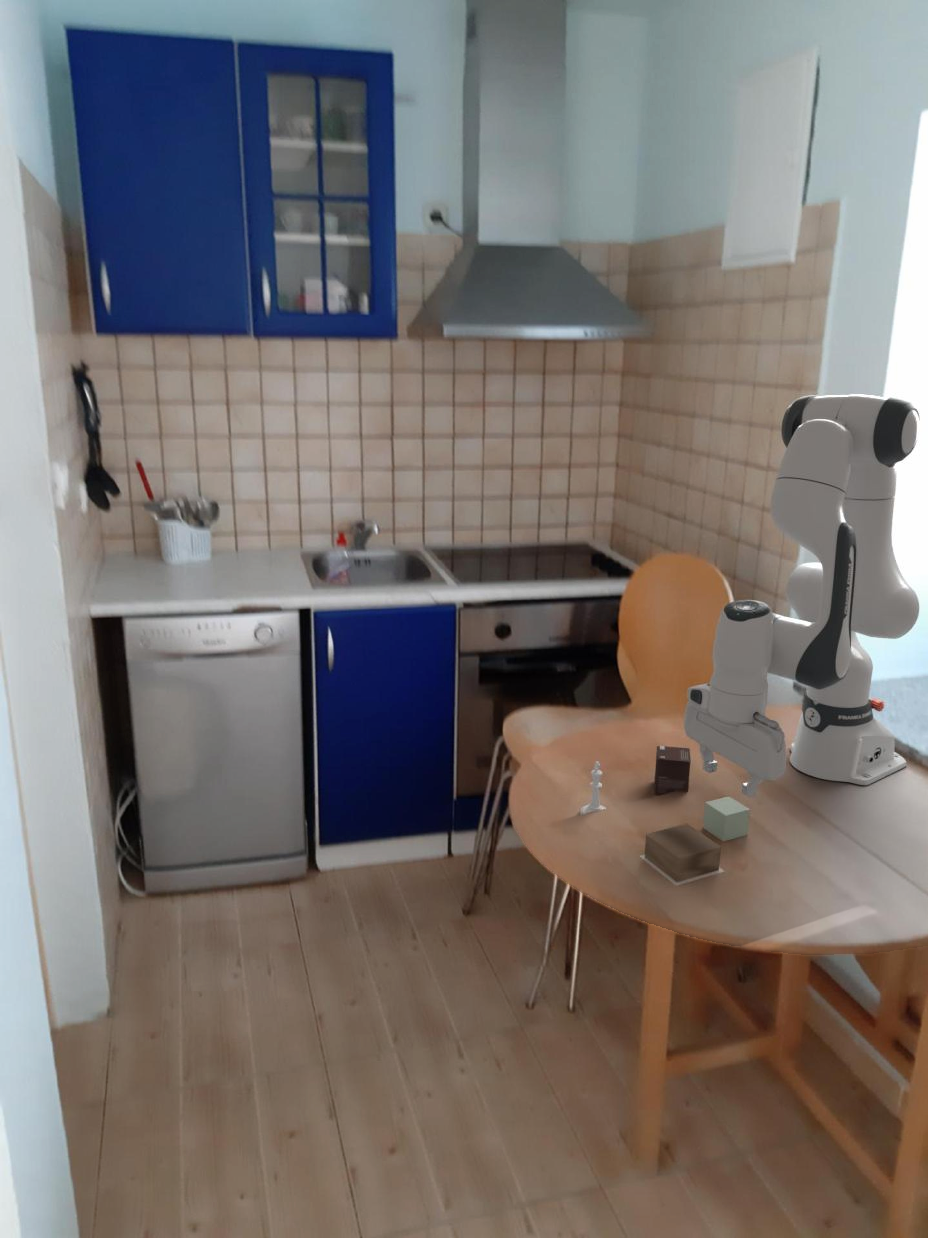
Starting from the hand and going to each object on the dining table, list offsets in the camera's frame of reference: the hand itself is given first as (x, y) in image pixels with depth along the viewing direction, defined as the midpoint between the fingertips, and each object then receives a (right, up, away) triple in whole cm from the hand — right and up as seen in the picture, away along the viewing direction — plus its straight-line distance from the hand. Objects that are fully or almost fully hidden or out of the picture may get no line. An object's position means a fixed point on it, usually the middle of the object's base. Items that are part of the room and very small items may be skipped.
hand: (728, 782), depth 154 cm
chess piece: (-20, -8, +11) cm, 24 cm away
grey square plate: (-8, -12, -6) cm, 16 cm away
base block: (-9, -11, -7) cm, 16 cm away
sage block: (0, -10, +3) cm, 10 cm away
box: (-5, -5, +20) cm, 21 cm away
